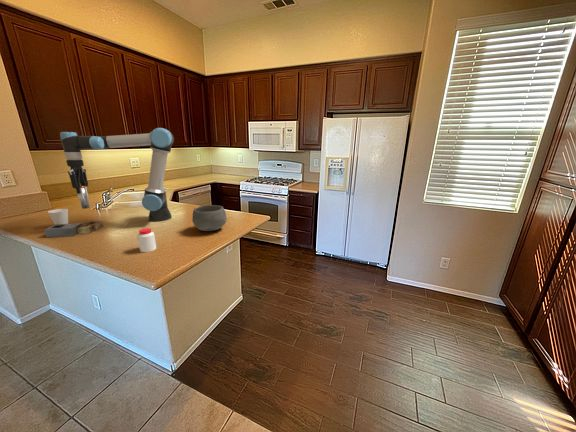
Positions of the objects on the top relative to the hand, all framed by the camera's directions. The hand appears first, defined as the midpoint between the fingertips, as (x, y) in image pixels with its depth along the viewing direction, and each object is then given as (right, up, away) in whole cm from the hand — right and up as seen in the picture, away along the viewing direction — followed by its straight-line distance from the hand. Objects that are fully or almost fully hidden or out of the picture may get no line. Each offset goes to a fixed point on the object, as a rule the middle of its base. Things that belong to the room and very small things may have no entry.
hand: (83, 197), depth 148 cm
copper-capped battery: (0, -6, +2) cm, 7 cm away
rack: (0, -20, +6) cm, 21 cm away
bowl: (+77, -21, +8) cm, 80 cm away
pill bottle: (+53, -29, -21) cm, 65 cm away
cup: (-23, -19, +10) cm, 31 cm away
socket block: (-9, -22, -3) cm, 24 cm away
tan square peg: (-1, -22, -1) cm, 22 cm away
